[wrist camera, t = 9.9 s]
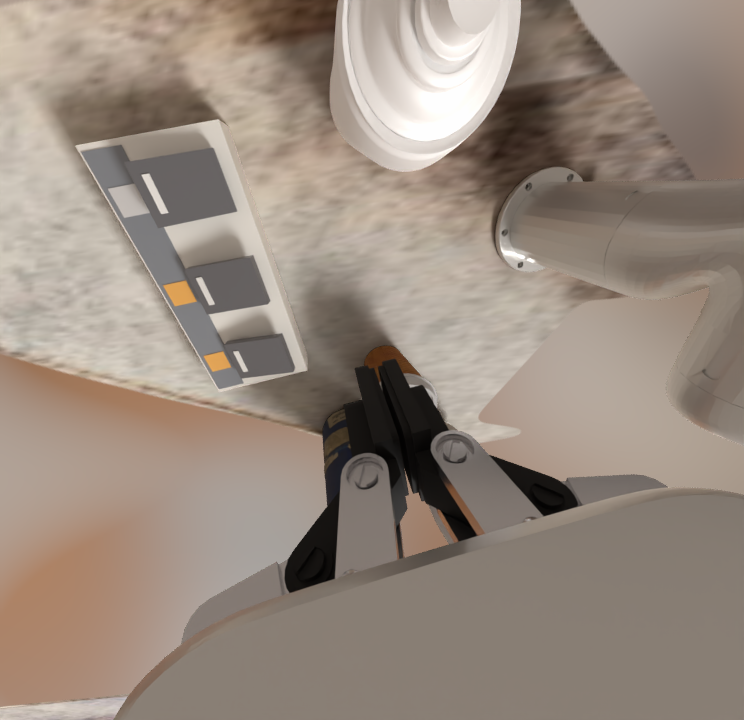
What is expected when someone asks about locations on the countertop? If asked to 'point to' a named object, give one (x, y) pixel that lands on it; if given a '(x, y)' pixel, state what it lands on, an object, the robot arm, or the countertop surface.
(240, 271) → the rocker middle
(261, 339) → the rocker
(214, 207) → the plate
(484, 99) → the white bottle
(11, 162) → the countertop surface
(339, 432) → the canister
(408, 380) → the disposable coffee cup
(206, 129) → the switch unit
